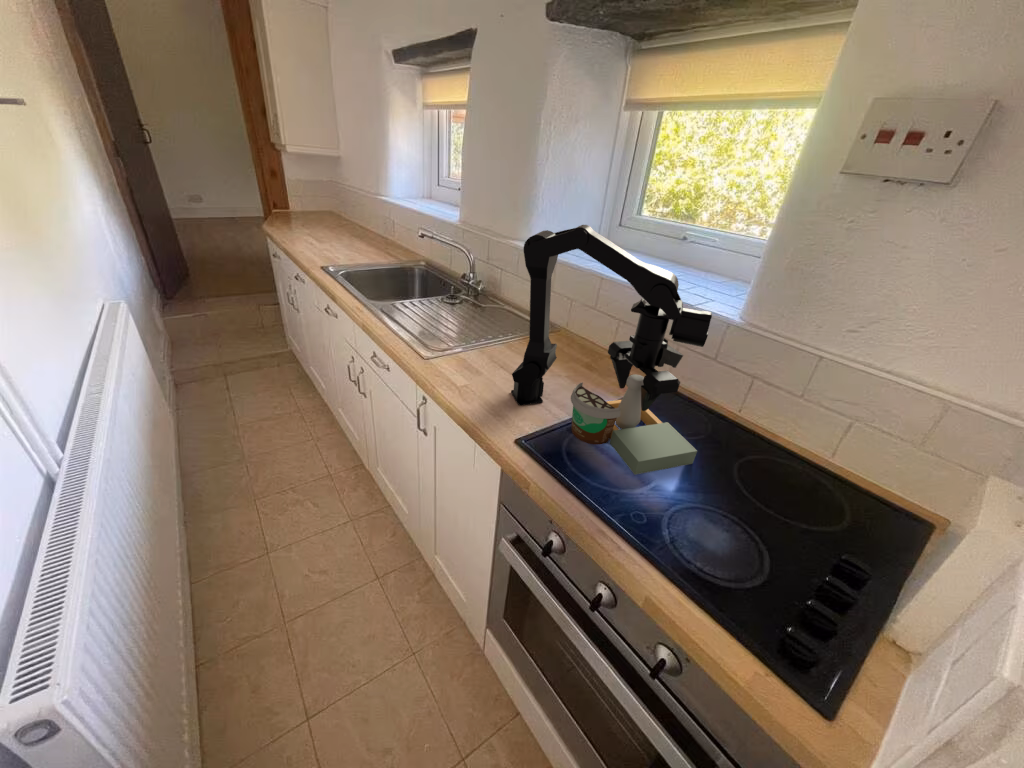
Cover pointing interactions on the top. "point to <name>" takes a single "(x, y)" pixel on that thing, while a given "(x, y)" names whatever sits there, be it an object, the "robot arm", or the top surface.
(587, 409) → the food container
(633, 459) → the orange and green frame
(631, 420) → the salt shaker
